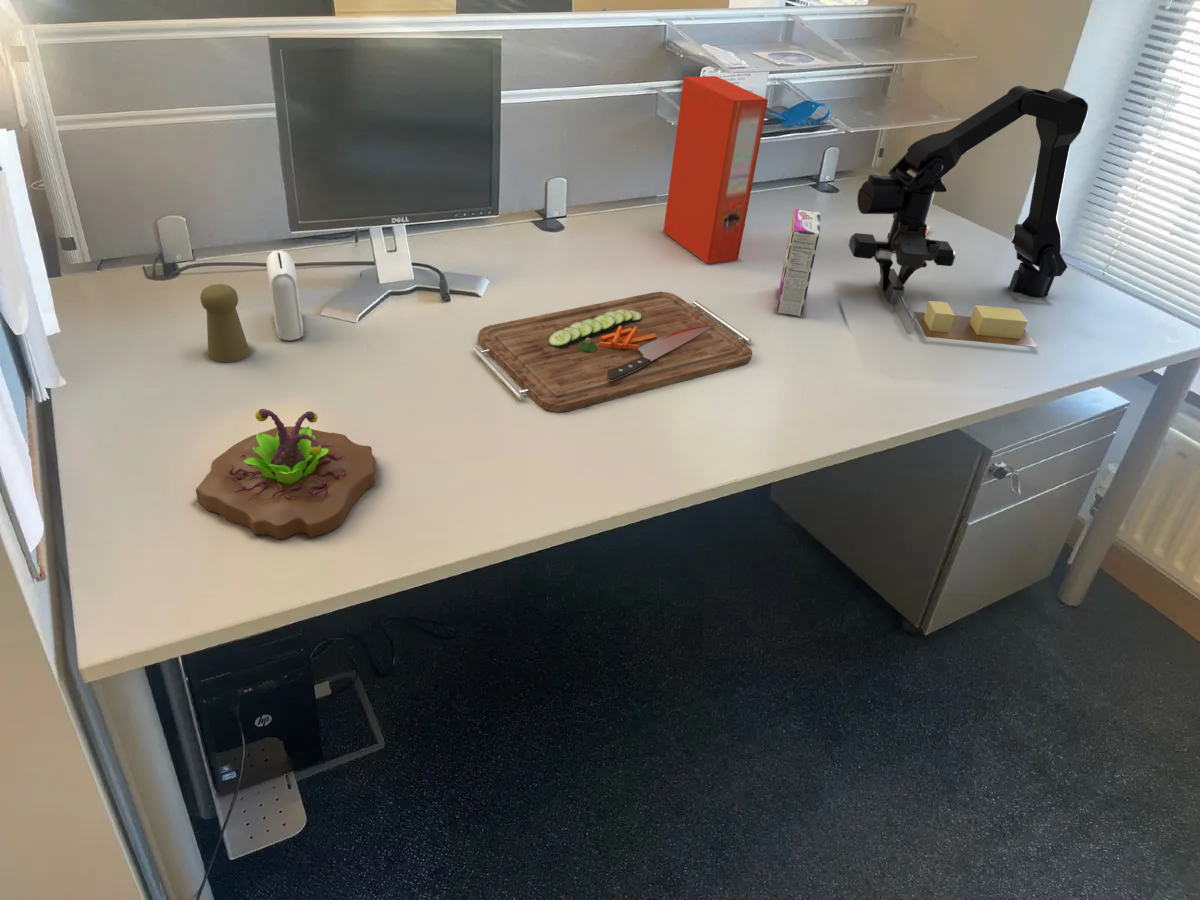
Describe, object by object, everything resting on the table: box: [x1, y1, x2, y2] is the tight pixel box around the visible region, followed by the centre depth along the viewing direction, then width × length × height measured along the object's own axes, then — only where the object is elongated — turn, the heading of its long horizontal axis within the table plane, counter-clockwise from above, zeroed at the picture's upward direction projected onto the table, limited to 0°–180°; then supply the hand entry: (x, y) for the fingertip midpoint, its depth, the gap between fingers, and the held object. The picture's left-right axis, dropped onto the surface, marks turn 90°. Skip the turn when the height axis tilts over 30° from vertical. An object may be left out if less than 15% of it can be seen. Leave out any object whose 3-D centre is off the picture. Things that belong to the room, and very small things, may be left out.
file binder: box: [662, 75, 769, 265], centre depth 181 cm, size 8×17×32 cm, turn 28°
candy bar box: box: [776, 208, 821, 318], centre depth 166 cm, size 11×5×16 cm, turn 168°
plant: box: [195, 408, 377, 540], centre depth 111 cm, size 20×20×11 cm
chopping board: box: [472, 291, 753, 413], centre depth 150 cm, size 45×27×3 cm, turn 122°
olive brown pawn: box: [199, 283, 251, 363], centre depth 137 cm, size 6×6×11 cm
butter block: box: [969, 304, 1028, 339], centre depth 164 cm, size 8×5×4 cm, turn 87°
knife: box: [878, 268, 915, 335], centre depth 169 cm, size 2×22×4 cm, turn 177°
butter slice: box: [923, 300, 956, 332], centre depth 164 cm, size 4×5×4 cm
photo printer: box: [266, 249, 304, 341], centre depth 145 cm, size 10×4×12 cm, turn 20°
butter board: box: [913, 311, 1038, 348], centre depth 165 cm, size 20×10×1 cm, turn 87°
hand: (889, 290), depth 175 cm, fingers closed on knife, 2 cm apart
